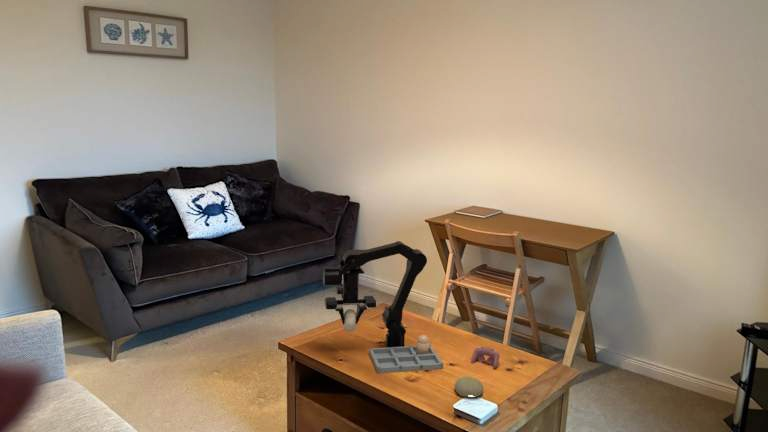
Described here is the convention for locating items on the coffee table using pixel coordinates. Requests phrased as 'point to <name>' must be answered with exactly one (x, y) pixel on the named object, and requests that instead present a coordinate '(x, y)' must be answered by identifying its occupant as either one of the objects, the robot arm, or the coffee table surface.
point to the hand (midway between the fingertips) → (349, 323)
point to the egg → (350, 320)
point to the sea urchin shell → (468, 386)
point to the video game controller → (486, 351)
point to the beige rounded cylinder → (422, 345)
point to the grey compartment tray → (404, 359)
